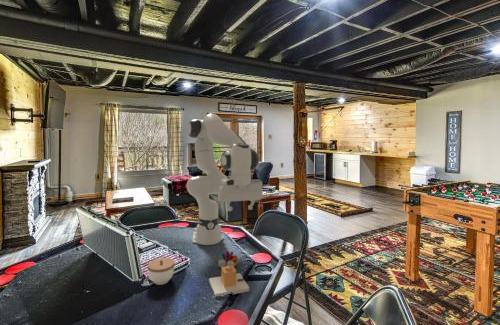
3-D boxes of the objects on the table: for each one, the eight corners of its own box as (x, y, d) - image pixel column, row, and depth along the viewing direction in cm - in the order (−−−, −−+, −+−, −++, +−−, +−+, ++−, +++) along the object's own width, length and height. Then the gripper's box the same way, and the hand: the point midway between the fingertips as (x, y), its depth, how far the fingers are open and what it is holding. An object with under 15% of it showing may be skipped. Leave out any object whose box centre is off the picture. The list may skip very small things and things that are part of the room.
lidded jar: (149, 290, 107) (149, 268, 106) (146, 277, 116) (146, 257, 115) (176, 284, 111) (176, 262, 111) (171, 272, 121) (171, 252, 120)
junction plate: (208, 281, 114) (208, 269, 113) (239, 276, 119) (240, 264, 118) (215, 297, 103) (215, 284, 102) (249, 291, 108) (249, 278, 107)
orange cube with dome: (221, 280, 112) (221, 265, 111) (232, 278, 114) (232, 263, 113) (224, 287, 107) (224, 271, 107) (236, 285, 109) (236, 269, 108)
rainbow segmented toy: (235, 271, 124) (235, 256, 123) (215, 268, 126) (215, 253, 125) (239, 262, 132) (240, 248, 131) (221, 260, 134) (221, 246, 133)
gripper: (259, 178, 125) (258, 206, 127) (217, 179, 118) (216, 210, 119) (265, 180, 119) (264, 210, 121) (220, 182, 112) (220, 214, 113)
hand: (240, 210), depth 120 cm, fingers open, 8 cm apart
